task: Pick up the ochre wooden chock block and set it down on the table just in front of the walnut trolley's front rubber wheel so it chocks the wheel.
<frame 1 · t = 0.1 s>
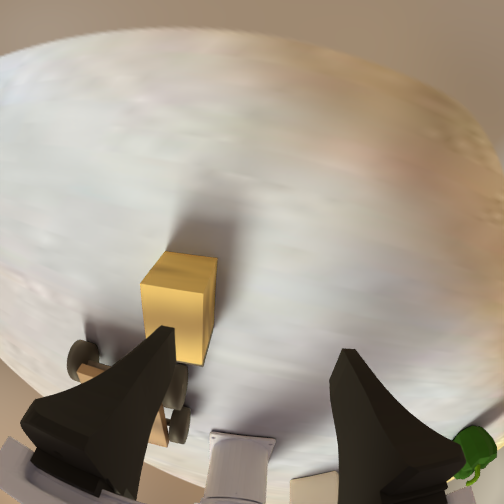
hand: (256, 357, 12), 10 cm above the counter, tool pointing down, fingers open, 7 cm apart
bell pepper: (463, 432, 32), on the counter
trolley: (138, 381, 28), on the counter
container: (318, 480, 37), on the counter
chock: (190, 288, 23), on the counter
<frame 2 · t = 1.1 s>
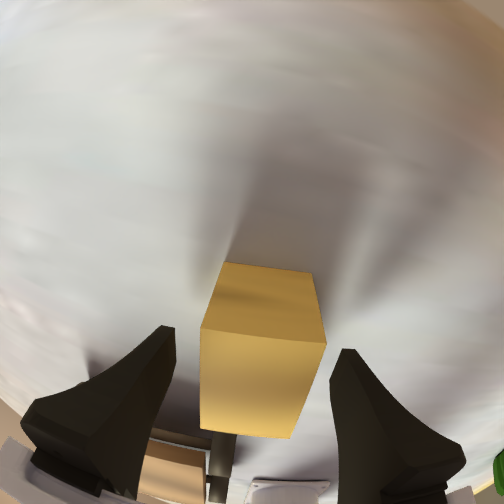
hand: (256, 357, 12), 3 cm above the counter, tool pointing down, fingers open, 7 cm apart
trolley: (164, 432, 20), on the counter
chock: (259, 319, 15), on the counter
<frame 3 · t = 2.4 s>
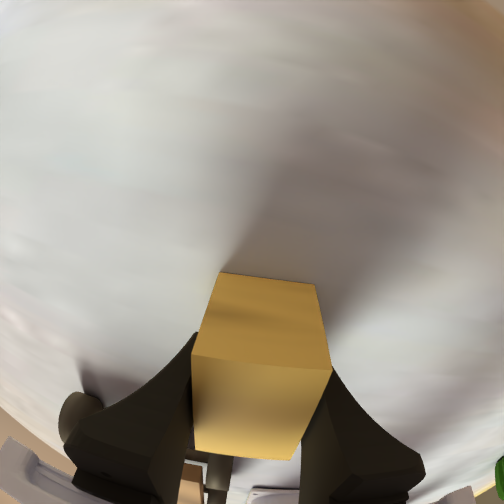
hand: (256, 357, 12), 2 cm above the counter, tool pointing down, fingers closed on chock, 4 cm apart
trolley: (160, 442, 19), on the counter
chock: (258, 334, 14), on the counter, touching gripper
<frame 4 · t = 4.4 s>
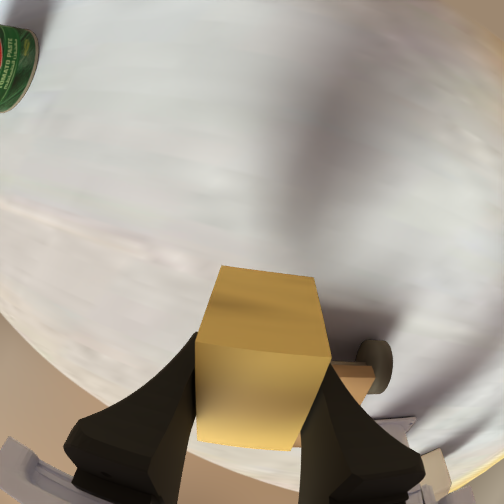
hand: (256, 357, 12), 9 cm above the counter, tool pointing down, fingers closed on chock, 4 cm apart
canned tomato: (11, 70, 15), on the counter
trolley: (300, 374, 24), on the counter
container: (418, 462, 33), on the counter
chock: (259, 326, 14), point 7 cm above the counter, touching gripper
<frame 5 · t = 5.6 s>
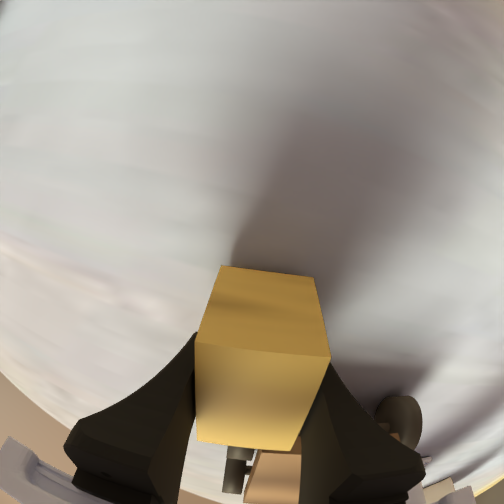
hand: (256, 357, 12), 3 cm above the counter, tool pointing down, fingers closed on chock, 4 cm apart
trolley: (309, 430, 19), on the counter
container: (426, 490, 28), on the counter
chock: (258, 326, 14), point 1 cm above the counter, touching gripper
when the fingers open (3 cm above the counter, at t = 6.5 s): chock stays where it is, on the counter.
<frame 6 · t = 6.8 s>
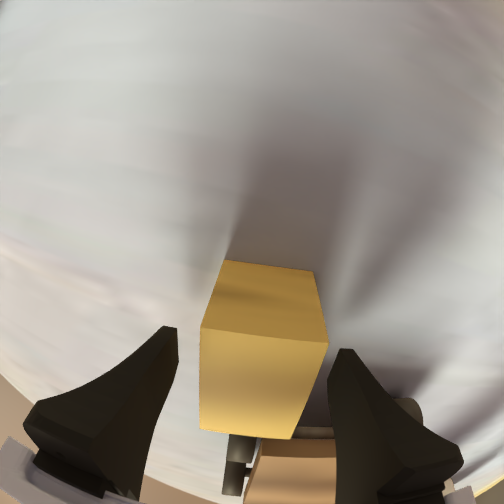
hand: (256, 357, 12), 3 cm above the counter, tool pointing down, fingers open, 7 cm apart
trolley: (309, 432, 18), on the counter
container: (427, 491, 28), on the counter
chock: (259, 318, 15), on the counter
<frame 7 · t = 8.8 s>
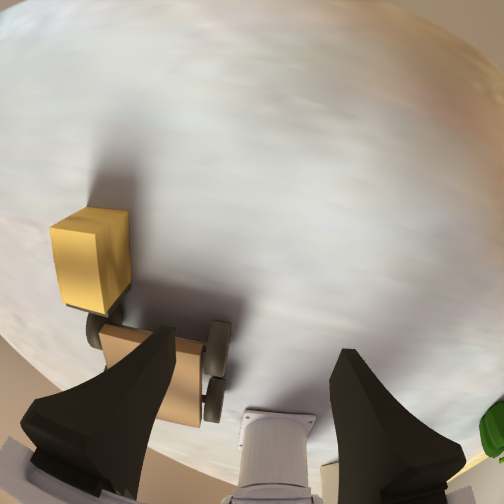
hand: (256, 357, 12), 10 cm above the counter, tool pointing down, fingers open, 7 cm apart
bell pepper: (492, 409, 30), on the counter
trolley: (167, 350, 26), on the counter
container: (348, 466, 35), on the counter
chock: (108, 244, 22), on the counter
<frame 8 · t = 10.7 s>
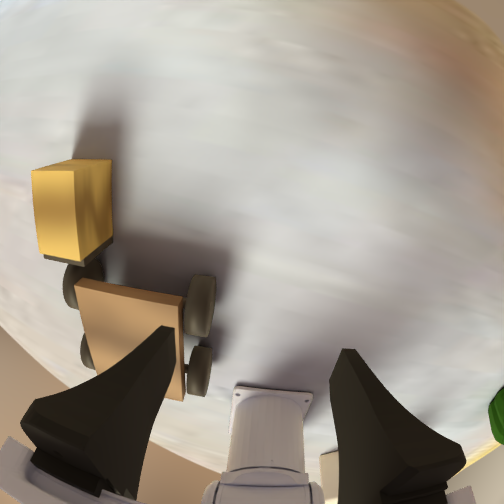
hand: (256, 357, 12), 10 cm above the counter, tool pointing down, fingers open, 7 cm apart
bell pepper: (501, 393, 28), on the counter
trolley: (150, 315, 25), on the counter
container: (350, 456, 34), on the counter
chock: (91, 196, 21), on the counter
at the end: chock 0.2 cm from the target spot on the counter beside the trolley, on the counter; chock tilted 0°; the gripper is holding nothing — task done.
